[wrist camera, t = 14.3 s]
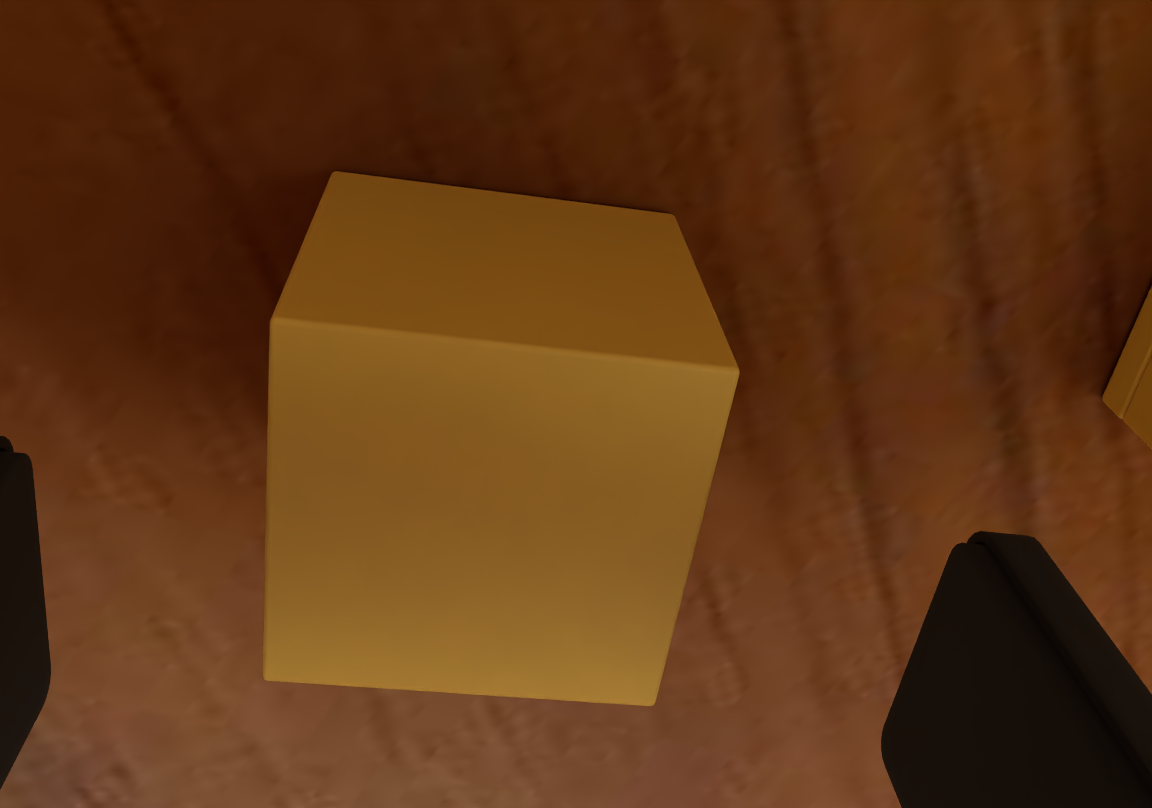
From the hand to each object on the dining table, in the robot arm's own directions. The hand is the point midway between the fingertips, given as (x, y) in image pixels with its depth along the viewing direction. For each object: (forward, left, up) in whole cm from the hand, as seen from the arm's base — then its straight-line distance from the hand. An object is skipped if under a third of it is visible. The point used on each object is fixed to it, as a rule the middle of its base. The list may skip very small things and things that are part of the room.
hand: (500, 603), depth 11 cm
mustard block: (0, 0, -5) cm, 5 cm away
